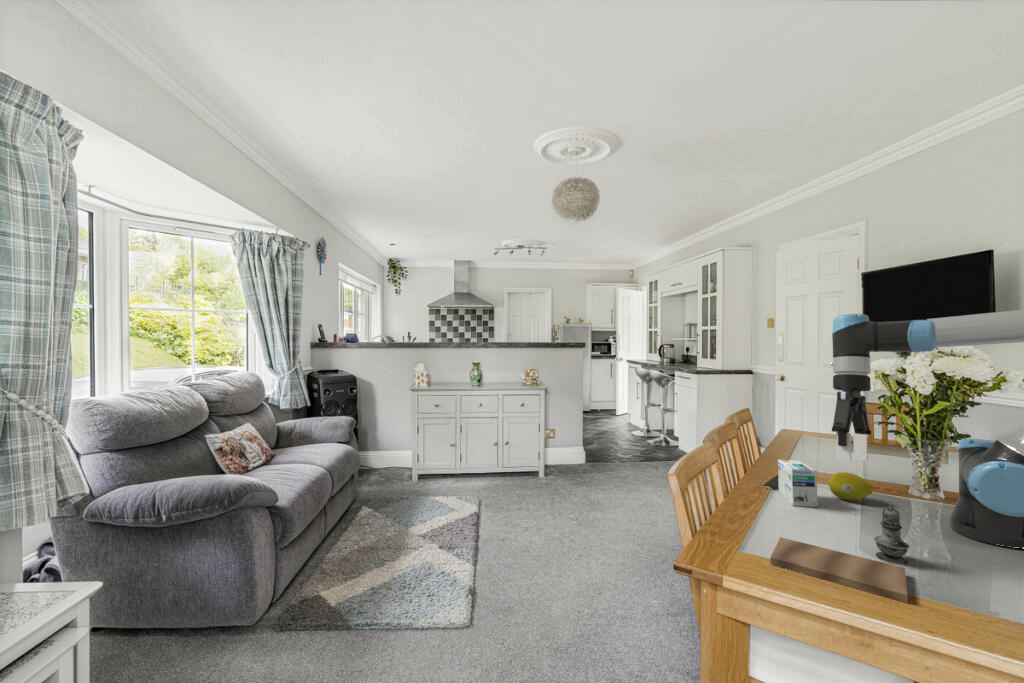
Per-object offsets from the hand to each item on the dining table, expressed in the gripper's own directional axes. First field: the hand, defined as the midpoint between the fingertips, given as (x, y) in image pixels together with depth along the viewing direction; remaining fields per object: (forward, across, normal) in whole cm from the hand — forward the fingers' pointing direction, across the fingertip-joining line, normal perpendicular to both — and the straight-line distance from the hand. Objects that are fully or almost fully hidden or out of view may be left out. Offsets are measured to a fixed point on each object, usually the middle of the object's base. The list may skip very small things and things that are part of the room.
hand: (852, 460), depth 107 cm
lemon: (+13, -28, -8) cm, 32 cm away
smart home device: (+13, -30, -25) cm, 41 cm away
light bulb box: (+15, -16, -18) cm, 28 cm away
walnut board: (+22, +20, +2) cm, 30 cm away
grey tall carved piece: (+20, +5, +8) cm, 22 cm away
